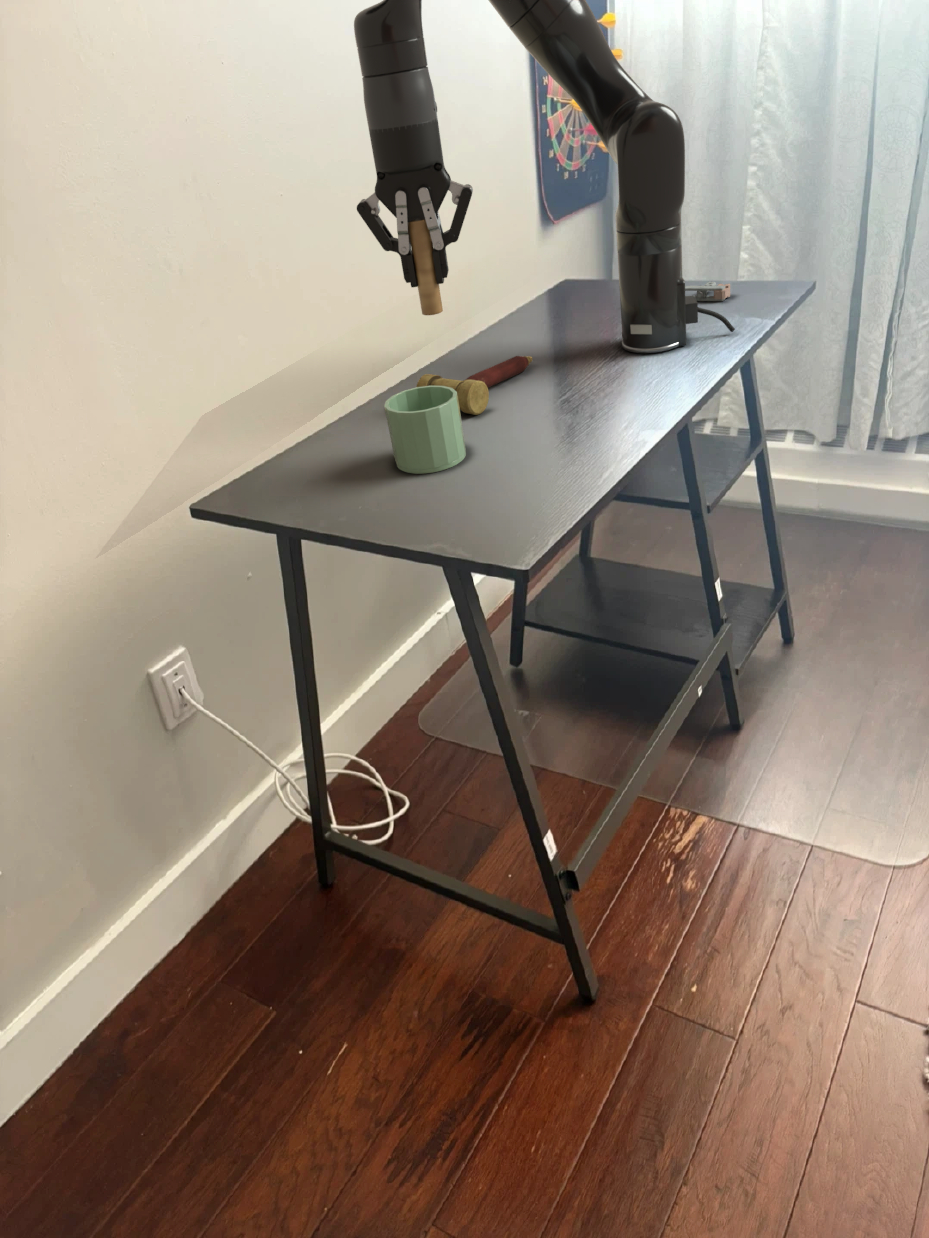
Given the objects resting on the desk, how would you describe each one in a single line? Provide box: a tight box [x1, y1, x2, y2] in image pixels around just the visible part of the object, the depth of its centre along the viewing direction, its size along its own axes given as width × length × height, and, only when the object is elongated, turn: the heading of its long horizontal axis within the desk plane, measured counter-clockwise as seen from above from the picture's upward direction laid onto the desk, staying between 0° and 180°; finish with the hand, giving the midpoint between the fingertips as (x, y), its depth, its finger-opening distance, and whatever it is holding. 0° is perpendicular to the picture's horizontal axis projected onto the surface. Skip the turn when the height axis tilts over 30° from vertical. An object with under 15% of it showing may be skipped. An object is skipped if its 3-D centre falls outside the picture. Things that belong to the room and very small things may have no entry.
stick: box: [408, 219, 444, 316], centre depth 111 cm, size 2×2×10 cm
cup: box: [383, 386, 467, 475], centre depth 120 cm, size 9×9×8 cm
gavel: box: [415, 355, 534, 416], centre depth 140 cm, size 21×5×10 cm
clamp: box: [685, 281, 731, 302], centre depth 164 cm, size 15×2×10 cm
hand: (428, 283), depth 112 cm, fingers closed on stick, 2 cm apart
